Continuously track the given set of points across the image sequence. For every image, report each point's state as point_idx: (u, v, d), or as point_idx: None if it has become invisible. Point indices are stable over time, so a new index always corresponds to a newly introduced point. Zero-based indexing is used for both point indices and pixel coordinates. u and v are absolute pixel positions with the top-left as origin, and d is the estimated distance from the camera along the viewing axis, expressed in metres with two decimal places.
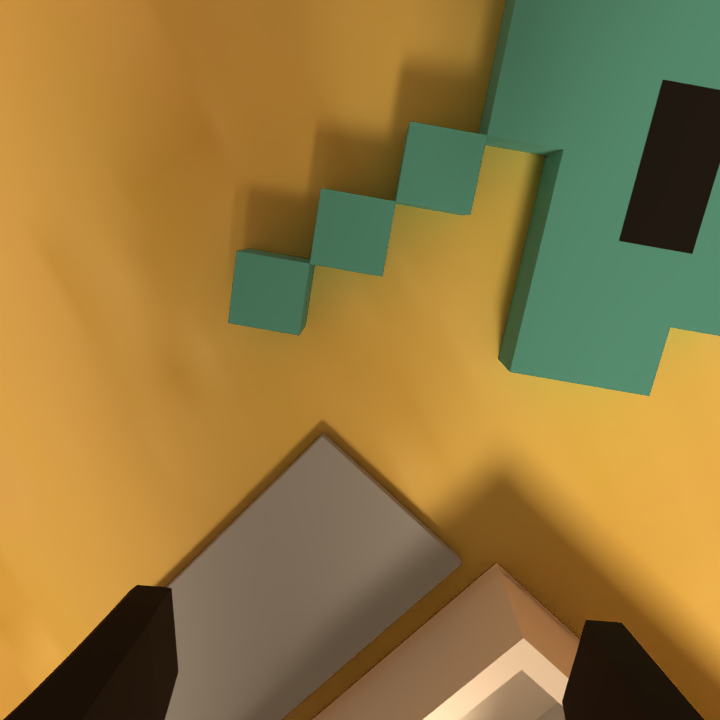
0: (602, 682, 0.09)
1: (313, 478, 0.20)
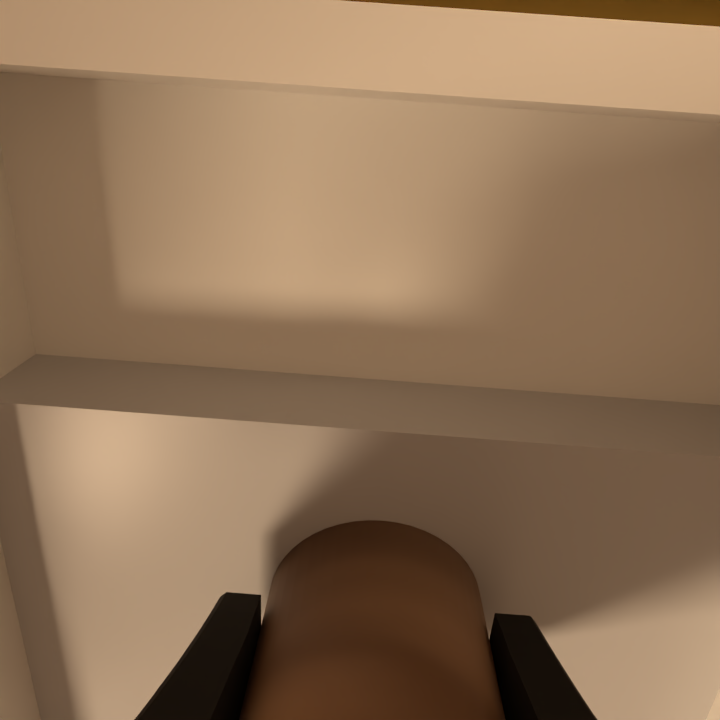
0: (503, 675, 0.09)
1: None
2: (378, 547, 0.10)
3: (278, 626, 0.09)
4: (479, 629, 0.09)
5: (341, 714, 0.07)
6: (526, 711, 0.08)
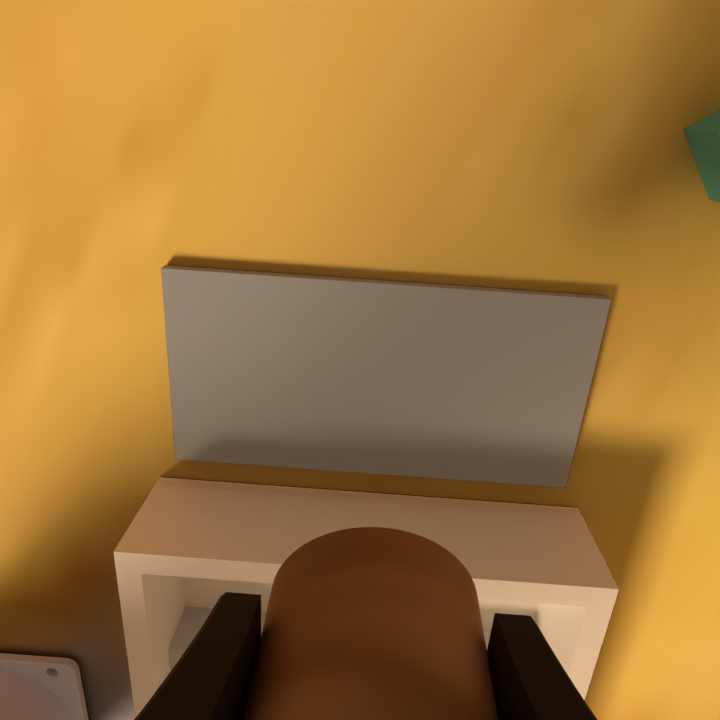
0: (503, 674, 0.09)
1: (561, 323, 0.18)
2: (376, 556, 0.10)
3: (278, 636, 0.09)
4: (475, 636, 0.09)
5: None
6: (526, 711, 0.08)
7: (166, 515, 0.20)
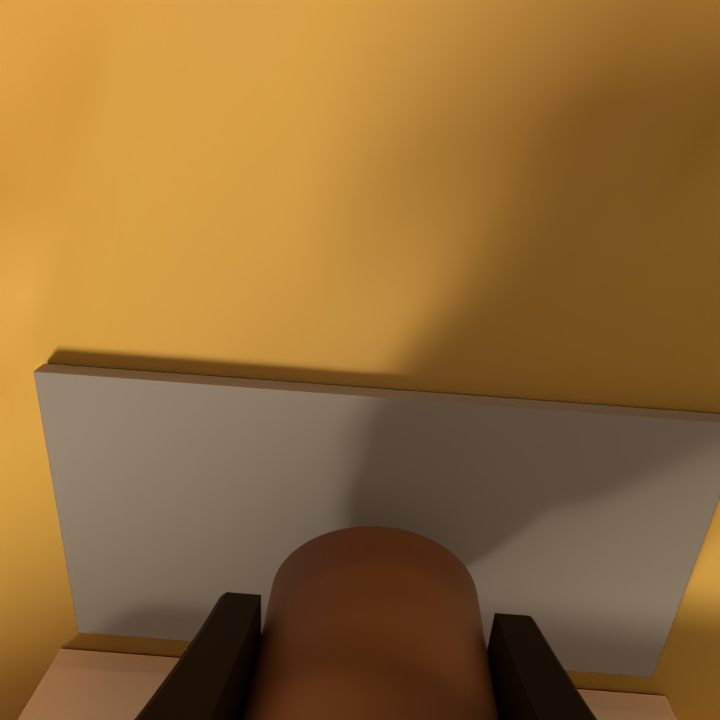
0: (503, 674, 0.09)
1: (664, 457, 0.12)
2: (376, 555, 0.10)
3: (278, 635, 0.09)
4: (475, 635, 0.09)
5: None
6: (526, 711, 0.08)
7: None
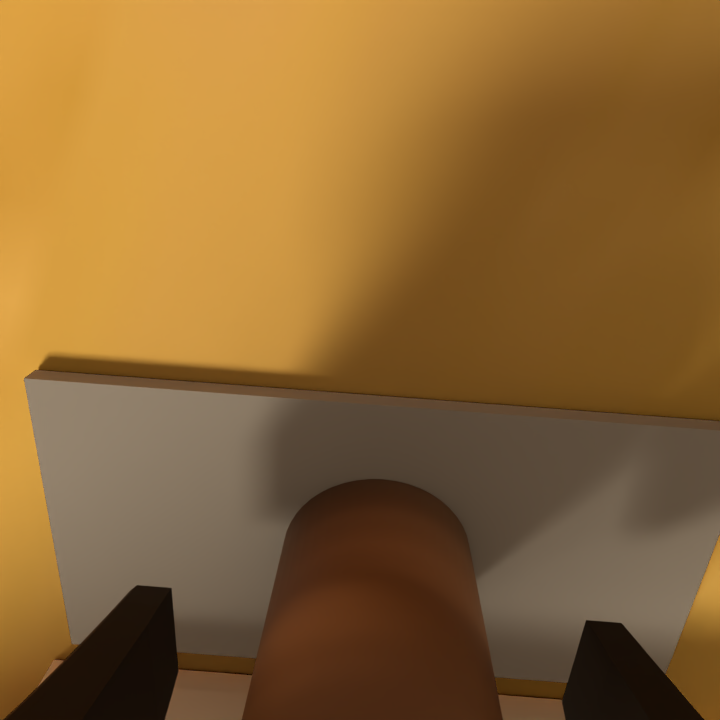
0: (602, 682, 0.09)
1: (672, 467, 0.11)
2: (378, 500, 0.11)
3: (293, 566, 0.10)
4: (466, 569, 0.11)
5: (347, 624, 0.08)
6: (637, 719, 0.08)
7: None
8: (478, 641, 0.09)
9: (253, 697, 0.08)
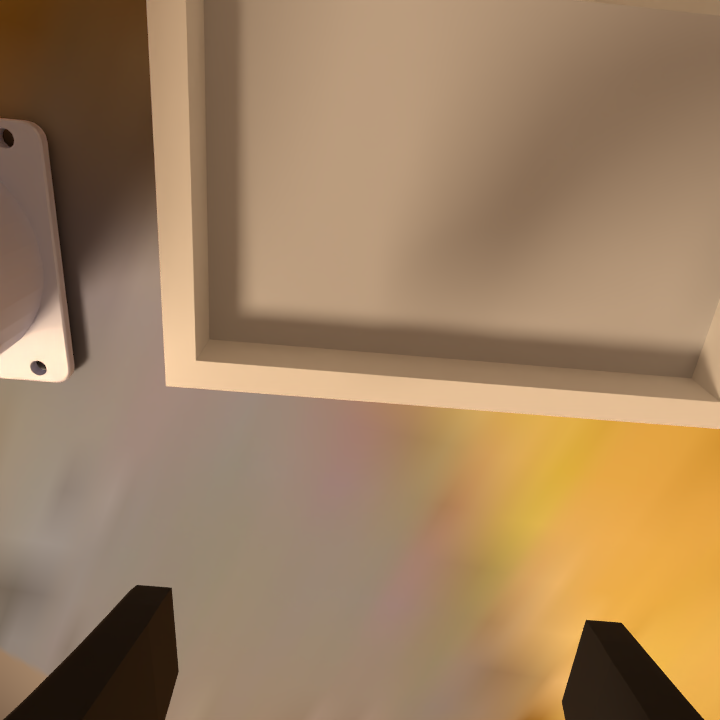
0: (602, 682, 0.09)
1: None
2: None
3: None
4: None
5: None
6: None
7: None
8: None
9: None
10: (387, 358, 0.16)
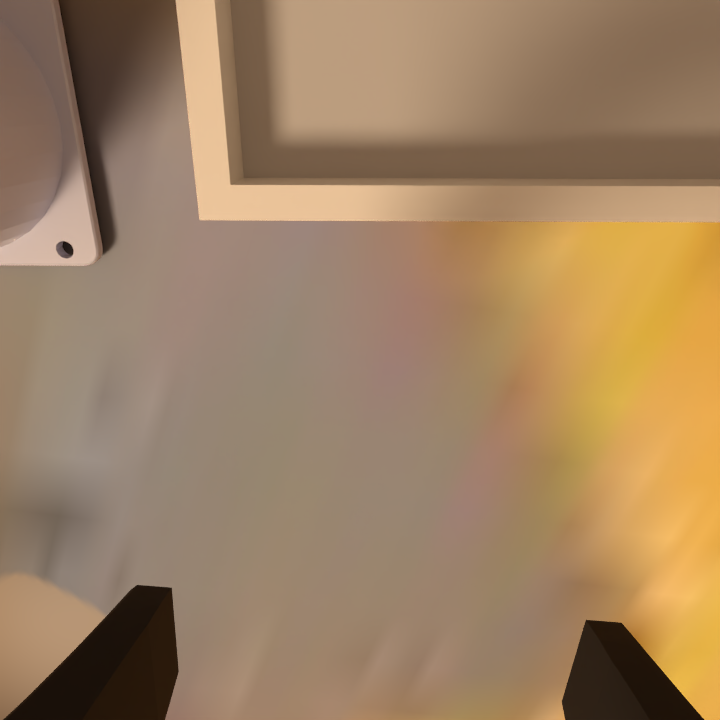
0: (602, 682, 0.09)
1: None
2: None
3: None
4: None
5: None
6: None
7: None
8: None
9: None
10: (444, 180, 0.14)
